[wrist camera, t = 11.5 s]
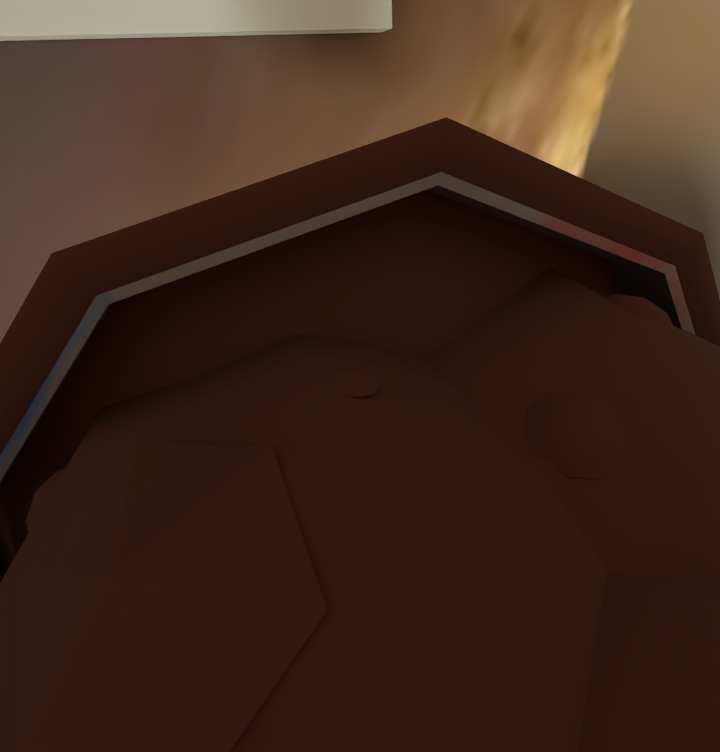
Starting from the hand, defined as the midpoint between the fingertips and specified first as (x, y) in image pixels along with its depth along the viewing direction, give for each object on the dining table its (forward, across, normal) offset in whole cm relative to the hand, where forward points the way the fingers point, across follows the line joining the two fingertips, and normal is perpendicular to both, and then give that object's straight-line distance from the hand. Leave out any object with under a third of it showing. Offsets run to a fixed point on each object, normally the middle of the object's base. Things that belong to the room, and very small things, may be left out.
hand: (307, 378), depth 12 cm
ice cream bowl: (+3, 0, 0) cm, 3 cm away
